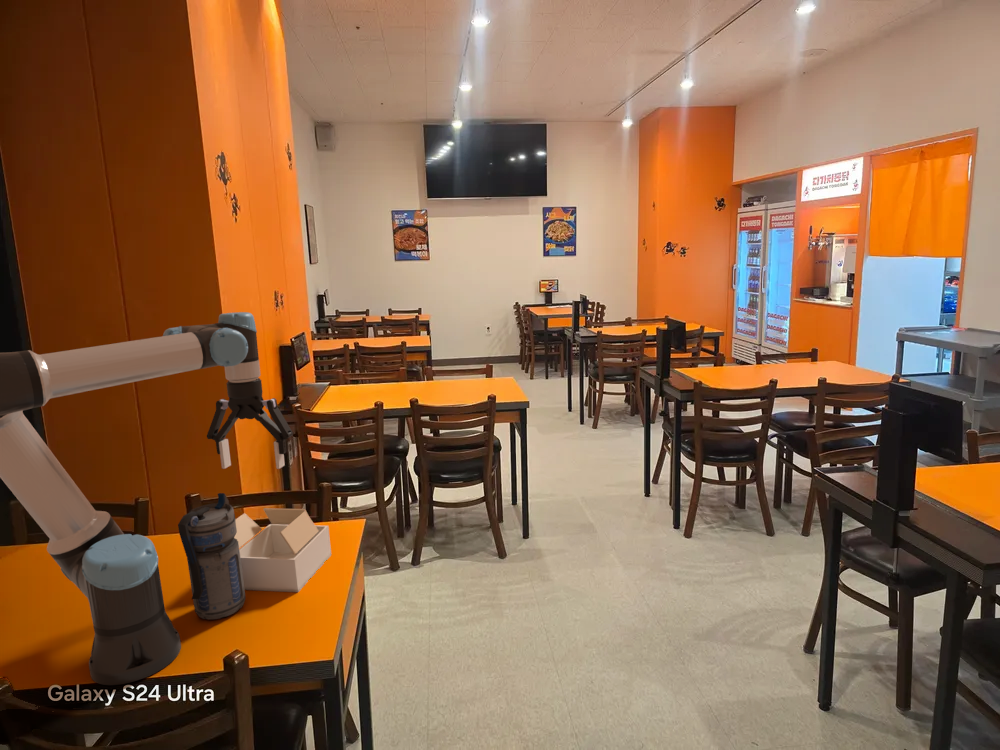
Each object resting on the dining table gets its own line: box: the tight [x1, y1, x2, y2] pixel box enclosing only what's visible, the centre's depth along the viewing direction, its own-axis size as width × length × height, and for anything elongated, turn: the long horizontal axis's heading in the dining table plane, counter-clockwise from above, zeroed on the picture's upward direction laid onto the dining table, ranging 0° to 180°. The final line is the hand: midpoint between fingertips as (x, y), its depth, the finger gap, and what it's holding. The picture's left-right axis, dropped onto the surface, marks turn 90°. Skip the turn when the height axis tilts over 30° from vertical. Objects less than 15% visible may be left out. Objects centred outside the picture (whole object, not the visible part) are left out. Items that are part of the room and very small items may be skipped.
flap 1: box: [263, 507, 308, 525], centre depth 156 cm, size 6×11×1 cm
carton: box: [234, 512, 332, 593], centre depth 150 cm, size 18×20×13 cm
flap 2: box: [280, 510, 319, 554], centre depth 146 cm, size 12×6×1 cm
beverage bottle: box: [177, 492, 246, 621], centre depth 132 cm, size 10×13×25 cm
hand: (253, 467), depth 147 cm, fingers open, 13 cm apart
